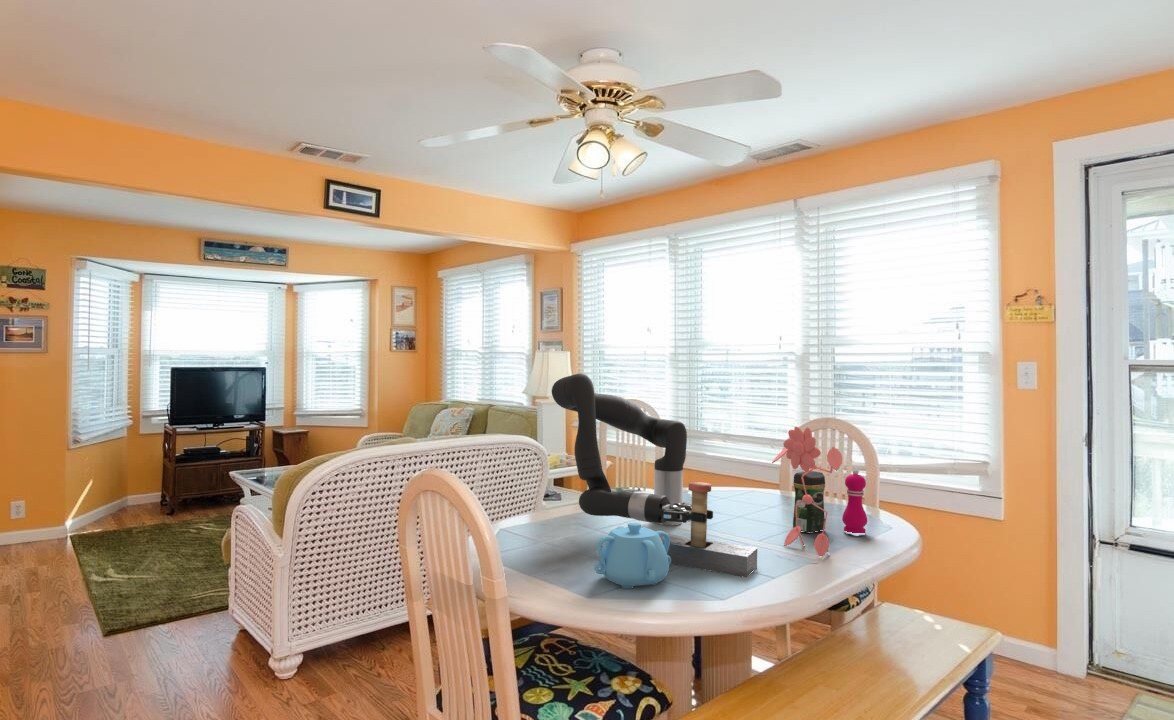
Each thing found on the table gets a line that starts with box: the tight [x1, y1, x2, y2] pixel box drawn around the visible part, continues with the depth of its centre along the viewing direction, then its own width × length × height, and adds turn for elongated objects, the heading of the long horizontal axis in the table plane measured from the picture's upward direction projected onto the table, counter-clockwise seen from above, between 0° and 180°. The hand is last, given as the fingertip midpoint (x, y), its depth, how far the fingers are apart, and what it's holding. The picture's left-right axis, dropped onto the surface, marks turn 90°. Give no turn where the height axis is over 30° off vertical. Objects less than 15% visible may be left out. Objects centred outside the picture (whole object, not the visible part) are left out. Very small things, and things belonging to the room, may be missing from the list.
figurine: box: [771, 426, 843, 557], centre depth 181 cm, size 15×26×35 cm, turn 27°
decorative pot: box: [594, 522, 671, 589], centre depth 155 cm, size 16×16×14 cm
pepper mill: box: [841, 468, 868, 534], centre depth 204 cm, size 7×7×20 cm
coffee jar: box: [792, 470, 826, 533], centre depth 207 cm, size 10×8×19 cm
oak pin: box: [688, 481, 712, 548], centre depth 170 cm, size 6×6×18 cm
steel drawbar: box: [659, 533, 758, 578], centre depth 170 cm, size 9×28×5 cm, turn 60°
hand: (709, 516), depth 169 cm, fingers closed on oak pin, 4 cm apart
